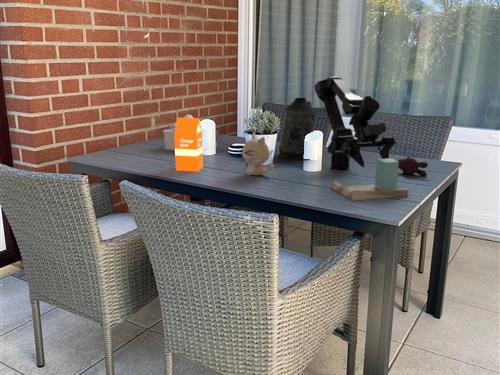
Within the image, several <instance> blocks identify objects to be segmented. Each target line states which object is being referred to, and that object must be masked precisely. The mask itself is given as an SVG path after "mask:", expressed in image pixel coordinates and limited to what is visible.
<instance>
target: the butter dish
mask: <svg viewBox="0 0 500 375" xmlns="http://www.w3.org/2000/svg"><path fill="white" fill-rule="evenodd" d="M183 118H194V117H193V115H191V114H186V115H185V116H183ZM199 121H200V123H201V120H199ZM176 123H177V121H175V122H174V123H173V125H172V127H173V128H170V129H164V130H162V133H163V144H164V150H169V151H175V135H174V133H175V129H176ZM215 133H216V134H217V130H216V129H215ZM216 147H217V143H216Z"/></svg>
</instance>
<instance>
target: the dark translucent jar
mask: <svg viewBox="0 0 500 375" xmlns="http://www.w3.org/2000/svg"><path fill="white" fill-rule="evenodd" d="M294 98H295V99H294V101H292V102H291V103H290V104H288V105H287V106H286V108H285V109H284V110H285V113H286V114H285V115H286V117H285V123H284V124H285V125H284V128H283V133H282V139H281V141H280V144H279V147H278V151H279V157H281V158H283V159H287V160H295V161H301V160H303V154H304V139H305V136H306V135H307V134H309V133H311V132H313V131H314V130H315V129H314V125H315V120H316V113H315V109H314V108H313V107H312V103H311V101H308V100H307V99H306V98H305V97H294Z"/></svg>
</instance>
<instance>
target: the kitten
mask: <svg viewBox="0 0 500 375" xmlns="http://www.w3.org/2000/svg"><path fill="white" fill-rule="evenodd" d="M265 140H266V139H265V137H264V136H262V137H260V138H258V137H257V134H256V133H255V132H253V133H252V134H251V139H249V140H248V141H246V142H245V144H244V145H243V147H242V149H241V153H242V154H241V156H242V159H243V160H244V161H245V166H246V169H245V170H246V171H245V173H246V175H247V176H260V175H263V174H268V173H271V171H273V170H274V168H275V165H274V163H271V164H269V166H268V167H267V168H266V169H265V168H264V166H263V165H264V164H265V163H266V162H268V160H269V159H270V158H269V157H270V150H269V146H268V145H267V143H266V141H265Z"/></svg>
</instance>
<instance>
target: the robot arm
mask: <svg viewBox="0 0 500 375" xmlns="http://www.w3.org/2000/svg"><path fill="white" fill-rule="evenodd" d="M314 92H315V93H316V95H317V98H318V99H319V100H320V101H322V103H323V104H324V107H325V108H324V109H325V110H326V113H327V117H328V120H329V123H330V127H331V130H332V134H331V138H330V140H331V141H330V142H329V144H328V146H327V152H328V153H329V154H331V159H330V160H331V161H330V167H329V170H338V171H348V169H349V168H350V167H351V166H350V165H351V164H350V163H351V158H352V159H353V160H354V161H355V162H356V163H357V164H358V165H359V166H360V167H362V168H365V166H366V165H365V162H364V161H365V160H364V159H363V155H362V153H361V149H362V148H363V149H367V148H368V149H369V148H377V149H378V151H379V152H378V153H379V156H380V157H381V159H389V158H390V151H391V149H392V148H393V147H394V146H395V144H396V143H397V142H396V138H395V137H393V136H383V137H382V138H381V140H379V141H377V140H378V139H379V136H380V135H383V134H384V133H385V132H386V131H387V125H386V123H385V122H379V123H377V124H370V122H369V121H371V120H372V119H373V118H374V116H375V115H376V114H377V112H378V111H379V109H380V103H379V102H378V101H377V100H376V99H374V98H372V96H371V95H364V96H365V97H363V98H362V97H361V96H359V95H357V94H354V93H353V92H352V91H351V90H350V88H349V86H347V84H346V83H345V82H344V81H343V78H342V77H341V76H329V77H327V78H325V79H322V80H318V81H317V82H316V83H315V84H314ZM336 96H337V97H338V98H339V100H340V101H341V103H342V105H341V109H342V110H343V112H344V114H345V115H347V116H348V115H352V117H350V120H349V123H348V125H349V126H352V128H353V130H352V129H351V128H349V127H348V128H347V127H346V126H345V123H344V120H343V116H342V113H341V111H340V108H339V105H338V102H337V98H336ZM353 131H354V134H353Z"/></svg>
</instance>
